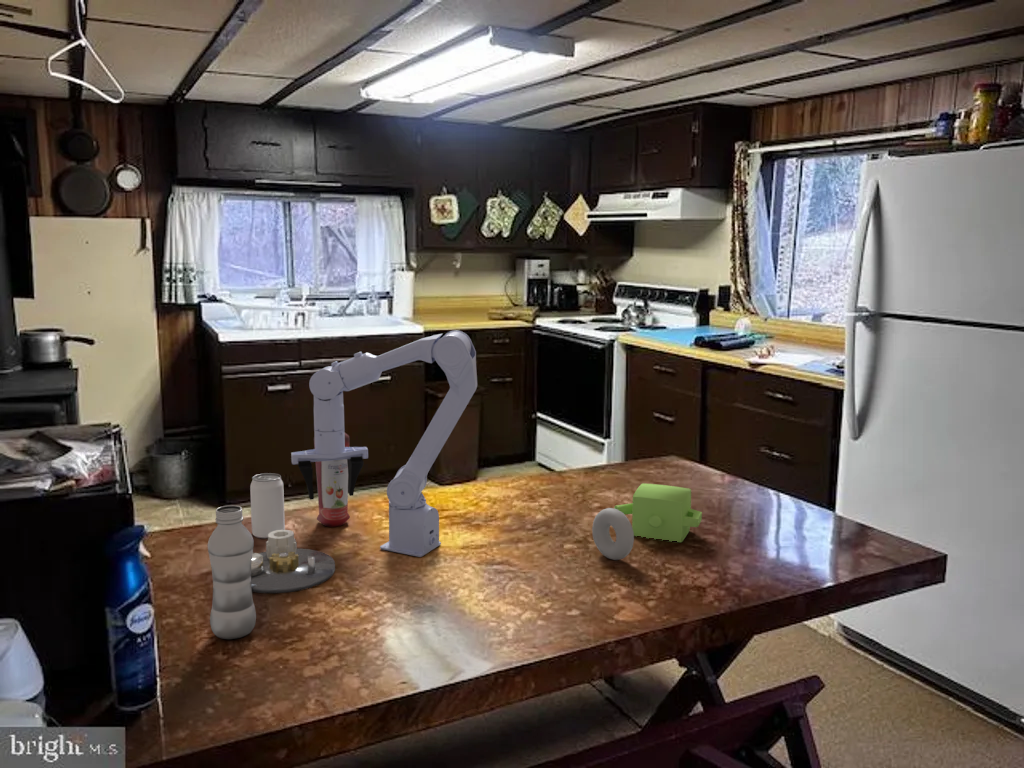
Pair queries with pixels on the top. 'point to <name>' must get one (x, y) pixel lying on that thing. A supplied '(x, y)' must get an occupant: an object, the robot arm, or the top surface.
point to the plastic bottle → (231, 575)
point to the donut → (621, 529)
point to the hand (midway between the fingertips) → (331, 496)
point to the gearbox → (661, 512)
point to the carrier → (290, 571)
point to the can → (267, 504)
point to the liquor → (333, 490)
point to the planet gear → (280, 542)
